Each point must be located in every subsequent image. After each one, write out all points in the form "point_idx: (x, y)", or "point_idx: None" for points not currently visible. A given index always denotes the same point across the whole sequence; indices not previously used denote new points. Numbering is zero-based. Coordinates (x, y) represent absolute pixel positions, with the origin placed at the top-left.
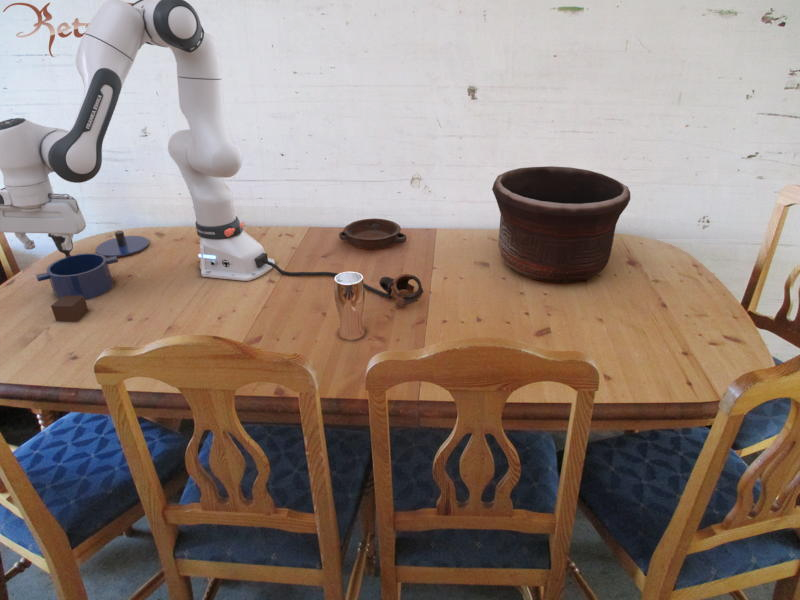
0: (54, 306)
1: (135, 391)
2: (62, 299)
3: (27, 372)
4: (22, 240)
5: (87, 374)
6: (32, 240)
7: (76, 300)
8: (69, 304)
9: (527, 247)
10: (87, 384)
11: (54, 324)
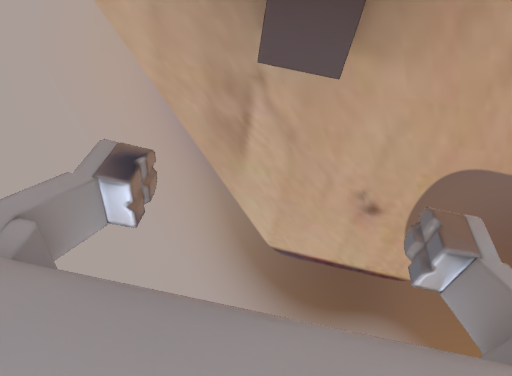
0: (272, 65)
1: None
2: (282, 11)
3: (292, 230)
4: (79, 239)
5: None
6: (124, 187)
7: (346, 31)
8: (326, 63)
9: None
10: None
11: None
